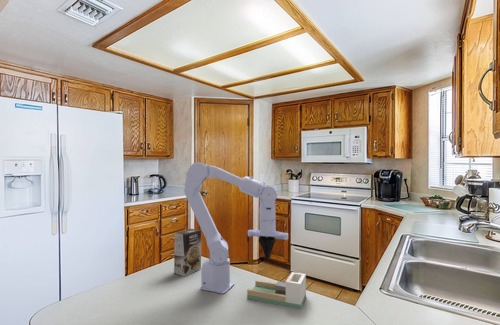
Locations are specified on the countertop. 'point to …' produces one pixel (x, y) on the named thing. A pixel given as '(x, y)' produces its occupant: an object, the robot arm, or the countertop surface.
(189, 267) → the coffee box
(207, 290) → the robot arm
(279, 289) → the block
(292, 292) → the pitch
